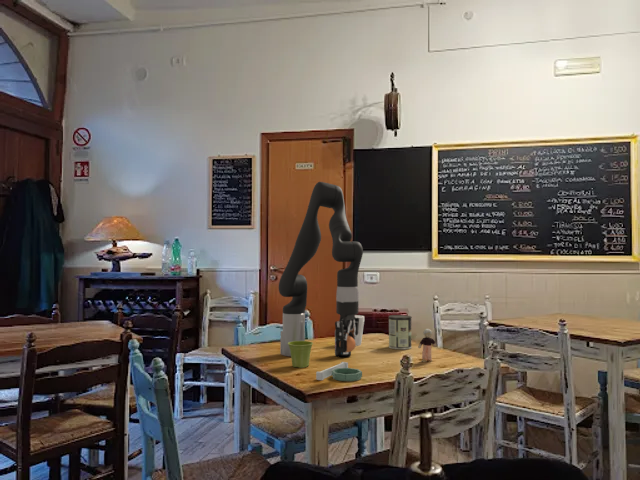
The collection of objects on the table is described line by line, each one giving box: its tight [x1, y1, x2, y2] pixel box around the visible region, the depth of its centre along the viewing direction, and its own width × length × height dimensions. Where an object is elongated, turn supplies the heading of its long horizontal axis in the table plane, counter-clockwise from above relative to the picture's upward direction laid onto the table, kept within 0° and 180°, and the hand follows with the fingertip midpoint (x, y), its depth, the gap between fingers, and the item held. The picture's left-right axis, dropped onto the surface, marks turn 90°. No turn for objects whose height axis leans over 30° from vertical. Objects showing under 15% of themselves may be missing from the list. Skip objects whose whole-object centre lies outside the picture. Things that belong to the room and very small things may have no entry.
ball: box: [346, 336, 356, 353], centre depth 172 cm, size 5×5×5 cm
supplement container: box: [334, 329, 352, 359], centre depth 208 cm, size 7×7×10 cm
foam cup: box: [355, 314, 365, 347], centre depth 235 cm, size 10×9×13 cm
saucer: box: [331, 367, 363, 382], centre depth 171 cm, size 10×10×2 cm
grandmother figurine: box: [417, 328, 437, 363], centre depth 199 cm, size 8×4×13 cm, turn 118°
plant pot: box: [288, 340, 314, 369], centre depth 189 cm, size 9×9×9 cm
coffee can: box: [388, 314, 413, 350], centre depth 228 cm, size 10×10×14 cm
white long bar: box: [315, 361, 349, 381], centre depth 176 cm, size 2×19×2 cm, turn 150°
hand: (347, 349), depth 171 cm, fingers closed on ball, 5 cm apart
